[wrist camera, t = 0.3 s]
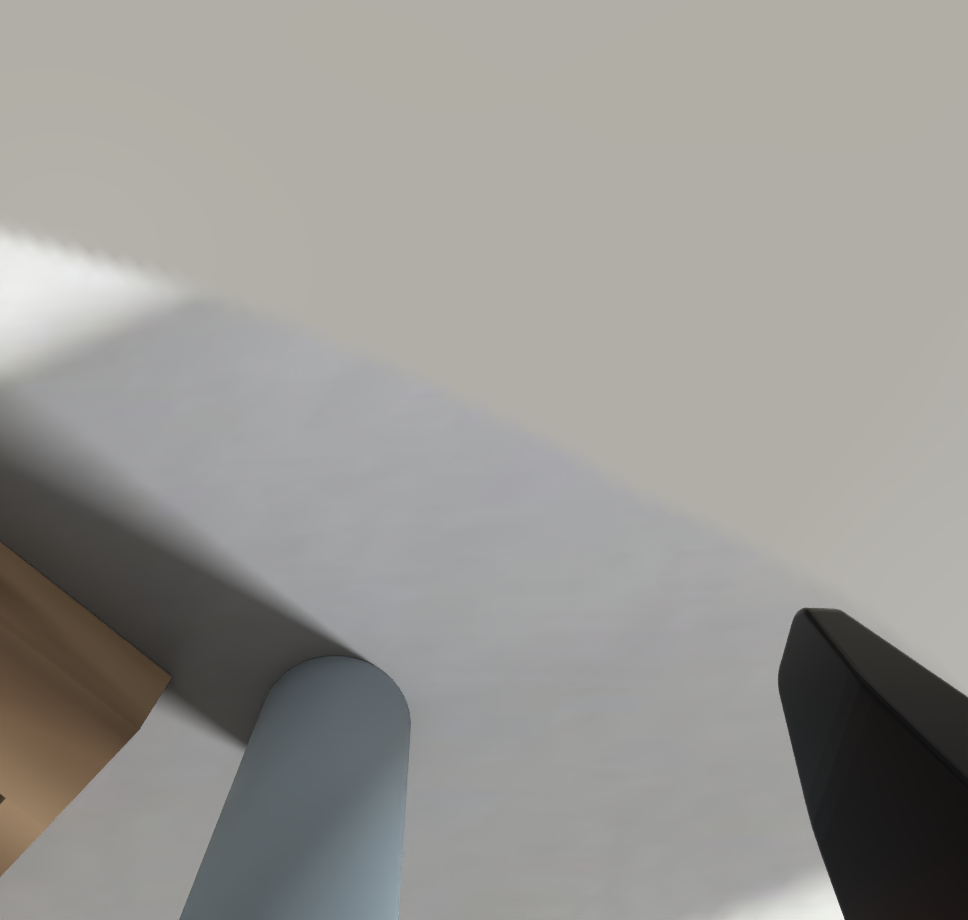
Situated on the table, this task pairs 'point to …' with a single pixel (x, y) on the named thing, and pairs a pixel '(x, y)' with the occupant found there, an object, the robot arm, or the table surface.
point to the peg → (314, 803)
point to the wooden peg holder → (59, 701)
